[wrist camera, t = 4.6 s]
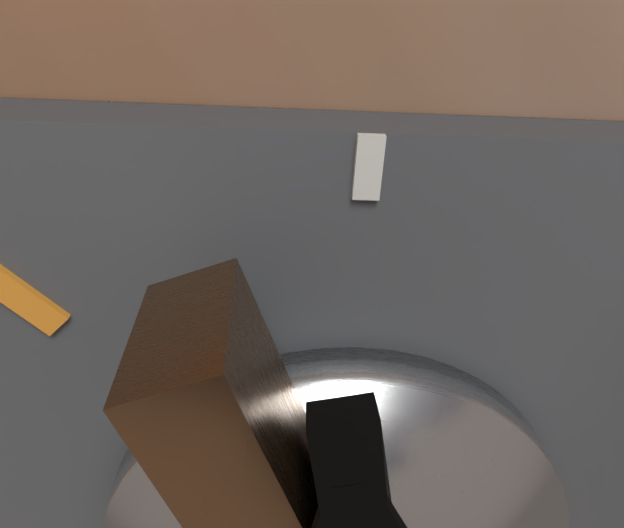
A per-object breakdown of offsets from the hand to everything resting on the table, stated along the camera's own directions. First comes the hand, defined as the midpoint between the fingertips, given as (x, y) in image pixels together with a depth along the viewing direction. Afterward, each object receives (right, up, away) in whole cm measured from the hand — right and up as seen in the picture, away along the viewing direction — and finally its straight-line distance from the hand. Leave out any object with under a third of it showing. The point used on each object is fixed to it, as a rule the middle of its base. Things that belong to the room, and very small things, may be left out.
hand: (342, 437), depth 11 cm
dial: (0, -2, +3) cm, 4 cm away
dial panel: (0, -3, +6) cm, 6 cm away
